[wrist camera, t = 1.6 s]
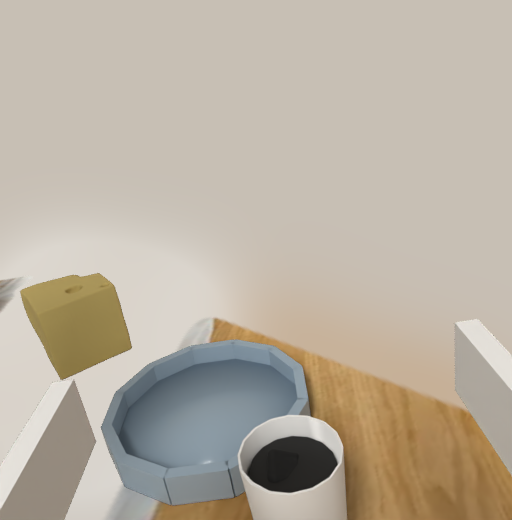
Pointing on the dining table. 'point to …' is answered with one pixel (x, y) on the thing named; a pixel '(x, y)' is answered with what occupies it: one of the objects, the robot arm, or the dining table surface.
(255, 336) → the dining table surface
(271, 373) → the blue round tray
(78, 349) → the cheese
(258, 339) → the dining table surface
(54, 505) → the robot arm
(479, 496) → the dining table surface
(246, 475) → the white coffee cup
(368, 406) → the dining table surface
